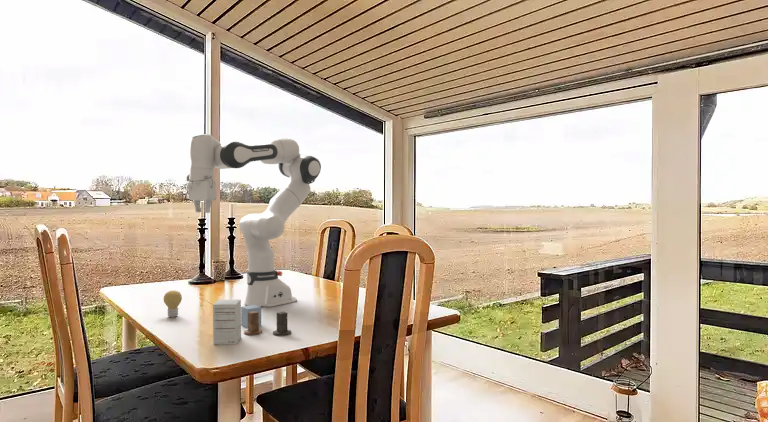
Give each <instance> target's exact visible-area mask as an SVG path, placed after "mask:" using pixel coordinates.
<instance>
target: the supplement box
mask: <svg viewBox="0 0 768 422" xmlns="http://www.w3.org/2000/svg"><path fill="white" fill-rule="evenodd" d="M241 304H242V300H241V299H217V301H215V302H214V303H213V304H212V335H213V336H212V338H213V340H212V343H213V345H238V342H239V341H240V340H241V338H242V325H241V307H242V305H241Z"/></svg>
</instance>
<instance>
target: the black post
mask: <svg viewBox="0 0 768 422" xmlns="http://www.w3.org/2000/svg"><path fill="white" fill-rule="evenodd" d="M291 334H292V331H291V330H290V329H288V312H286V311H278V312H276V330H274V331H273V332H272V335H273V336H276V337H285V336H289V335H291Z"/></svg>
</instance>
